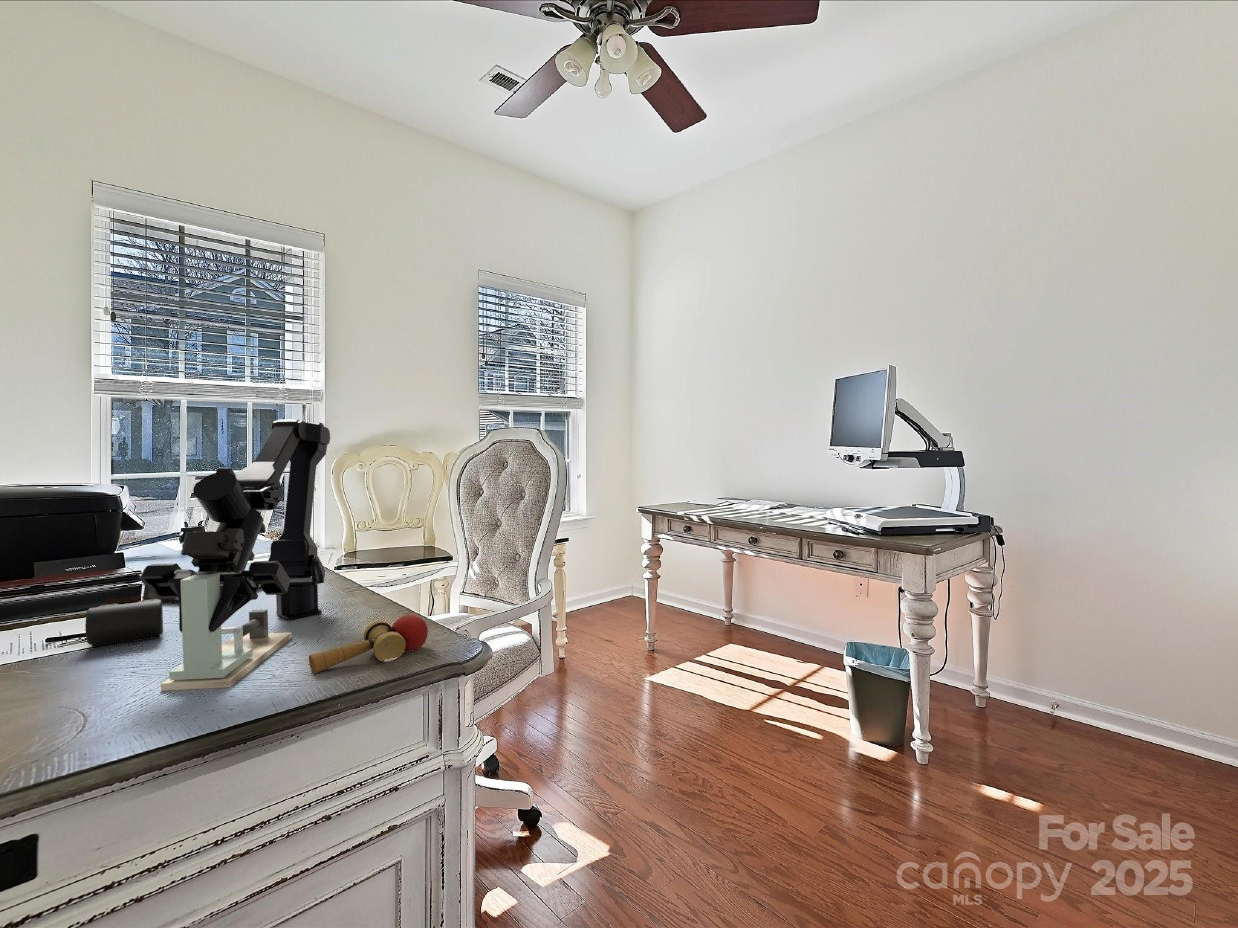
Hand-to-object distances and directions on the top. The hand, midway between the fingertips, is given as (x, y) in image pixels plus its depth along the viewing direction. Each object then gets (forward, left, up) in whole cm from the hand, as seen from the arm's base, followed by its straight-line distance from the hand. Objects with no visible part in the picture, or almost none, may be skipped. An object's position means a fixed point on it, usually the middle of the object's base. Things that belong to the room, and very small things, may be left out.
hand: (196, 631), depth 84 cm
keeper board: (-7, -8, -8) cm, 13 cm away
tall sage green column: (-3, -3, -7) cm, 8 cm away
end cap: (+2, -32, -8) cm, 33 cm away
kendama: (-21, +8, -8) cm, 25 cm away
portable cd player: (-17, -58, -9) cm, 61 cm away
